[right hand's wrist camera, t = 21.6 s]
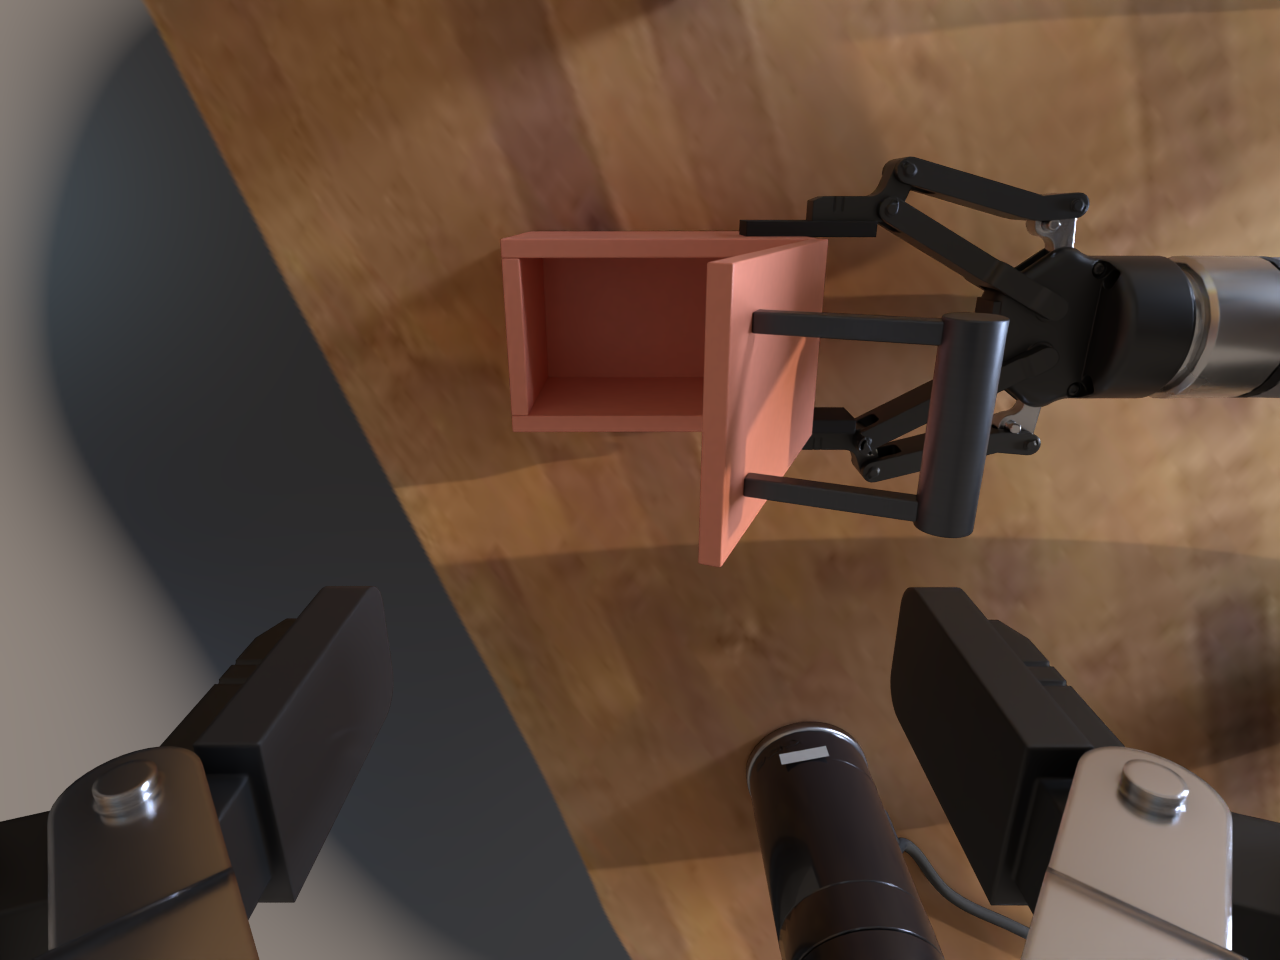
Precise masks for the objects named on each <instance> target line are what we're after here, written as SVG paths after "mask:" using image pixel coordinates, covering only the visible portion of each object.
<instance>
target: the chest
mask: <svg viewBox="0 0 1280 960" xmlns="http://www.w3.org/2000/svg"><path fill="white" fill-rule="evenodd" d="M809 239H816V238H812V237H807V236H803V237H746V236H743V235H739V231H530V232H526V233H522V234H518V235H514V236H510V237H507V238H503V239H501V240H500V244H501V257H502V274H503V289H504V305H505V320H506V335H507V351H508V366H509V381H510V397H511V412H512V428H513V432H702V419H703V385H704V351H705V318H706V284H707V264H708V262H712V261H716V260H721V259H725V258H730V257H734V256H739V255H743V254H747V253H752V252H756V251H761V250H765V249H769V248H774V247H778V246H783V245H787V244H791V243H796V242H800V241H805V240H809Z"/></svg>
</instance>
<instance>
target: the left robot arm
mask: <svg viewBox="0 0 1280 960" xmlns="http://www.w3.org/2000/svg"><path fill="white" fill-rule="evenodd" d="M910 190H911V191H915V192H918V193H921V194H925V195H928V196H932V197H935V198H938V199H942V200H945V201H949V202H952V203H955V204H959V205H962V206H966V207H969V208H972V209H976V210H979V211H983V212H986V213H989V214H993V215H996V216H1000V217H1003V218H1008V219H1015V220H1027V221H1026V227H1027V231H1028V232H1029V233H1030V234H1031V235H1034V236H1039V237H1041V238H1042V239H1043V240H1044V243H1045V248H1044V249H1042V250H1040V251H1039V252H1037V253H1036V254H1034V255H1033V256H1031V257H1030V258H1028V259H1027V260H1025V261H1024V262H1022V263H1021V264H1019V265H1018V266H1016V267H1015V268H1013V267H1012V266H1010V265H1008V264H1006V263H1004V262H1002V261H999V260H997V259H996V258H994V257H992V256H991V255H989V254H988V253H986V252H984V251H983V250H981V249H980V248H978V247H976V246H975V245H973V244H972V243H970V242H968V241H967V240H965V239H964V238H962V237H960V236H959V235H957V234H956V233H954V232H952V231H951V230H949V229H948V228H946V227H944V226H943V225H941V224H940V223H938V222H936V221H935V220H933V219H932V218H930V217H928V216H927V215H925V214H924V213H922V212H920V211H919V210H917V209H915V208H914V207H912V206H911V205H909V204H907V203H906V202H905V200H906V198H907V196H908V193H909V191H910ZM1088 208H1089V198H1088V197H1087V195H1085V194H1084V193H1049V194H1036V193H1033V192H1030V191H1026V190H1023V189H1020V188H1016V187H1013V186H1010V185H1006V184H1003V183H1000V182H996V181H993V180H989V179H986V178H983V177H979V176H976V175H973V174H969V173H966V172H963V171H959V170H956V169H953V168H949V167H946V166H943V165H939V164H936V163H933V162H929V161H926V160H923V159H919V158H916V157H905V158H899V159H893V160H891V161H889V162H887V163H886V164H885V166H884V168H883V171H882V178H881V180H880V182H879V185H878V187H877V188H876V190H875V191H874V192H873V193H871V194H870V195H868V196H818V197H815V198H813V199H810V200H808V201H807V214H806V220H740V227H739V235H743V236H746V237H803V236H807V237H876V232H877V224H878V225H880V226H882V227H883V228H885V229H886V230H888V231H890V232H891V233H893V234H895V235H896V236H898V237H900V238H901V239H903V240H904V241H906V242H908V243H909V244H911V245H913V246H914V247H916V248H917V249H919V250H921V251H922V252H924V253H926V254H927V255H929V256H931V257H932V258H934V259H935V260H937V261H939V262H940V263H942V264H944V265H945V266H947V267H948V268H950V269H952V270H953V271H955V272H957V273H958V274H960V275H962V276H963V277H964V278H965V279H966V280H967V281H969V282H971V283H972V284H974V285H976V286H977V287H979V288H980V289H982V290H984V293H983V295H982V297H977V303H976V309H975V313H987V314H995V315H1001V316H1005V317H1007V318H1009V320H1010V321H1009V326H1008V332H1007V338H1006V344H1005V349H1004V355H1003V361H1002V367H1001V372H1000V378H999V384H998V390H997V393H999V392H1001V391H1003V390H1005V391H1006V392H1007V393H1008V394H1010V395H1011V396H1012V397H1013V398H1015V399H1016V403H1015V405H1014V406H1013V407H1012V408H1011V409H1009V410H1007V411H1001V412H999V413H995V414H994V415H993V418H992V424H991V430H990V436H989V441H988V447H987V453H986V455H990V454H994V453H1008V454H1020V455H1032V454H1034V453H1036V452H1037V451H1038V450H1039V448H1040V445H1041V441H1040V438H1039V437H1037V436H1036V435H1035V434H1033V433H1034V430H1035V426H1036V423H1037V419H1038V416H1039V412H1040V409H1041V407H1043V406H1046V405H1048V404H1050V403H1052V402H1054V401H1057V400H1060V399H1064V398H1143V397H1147V396H1149V397H1152V398H1226V397H1265V398H1280V257H1273V258H1272V257H1263V256H1173V257H1169V258H1166V257H1162V256H1087V255H1085V254H1083V253H1081V252H1080V251H1079V250H1077V249H1075V248H1073V244H1074V235H1075V226H1076V218H1079V217H1081V216H1082V215H1084V214H1085V213H1086V211H1087V210H1088ZM932 384H933V380H931V381H929V382H927V383H925V384H923V385H921V386H919V387H917V388H915V389H913V390H911V391H909V392H907V393H905V394H903V395H901V396H899V397H897V398H895V399H893V400H891V401H889V402H887V403H885V404H883V405H881V406H879V407H877V408H875V409H873V410H871V411H869V412H867V413H865V414H863V415H861V416H859V417H857V418H854V417H853V416H852V415H851V414H850V413H849V412H848V411H847V410H846V409H845V408H844V407H814V414H813V426H812V435H811V436H810V438H809V439H808V441H807V442H806V444H805V445H804V447H803V448H802V450H813V449H814V450H820V449H821V450H849V451H850V453H851V456H852V459H851V461H852V464H853V465H854V467H855V468H856V469H857V470H858V471H859V473H860V474H861V475H862V476H863V478H864V479H865V480H866V481H868V482H878V481H882V480H886V479H890V478H894V477H898V476H902V475H907V474H911V473H915V472H919V471H920V469H921V462H922V455H923V448H924V441H925V434H926V433H924V434H920V435H916V436H912V437H908V438H904V439H900V440H896V441H892V440H894V439H896V438H898V437H900V436H902V435H904V434H906V433H908V432H910V431H912V430H914V429H916V428H918V427H920V426H922V425H924V424H926V423H927V420H928V412H929V405H930V398H931V391H932ZM889 441H892V442H889ZM887 442H888V443H887Z"/></svg>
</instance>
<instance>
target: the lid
mask: <svg viewBox="0 0 1280 960" xmlns="http://www.w3.org/2000/svg"><path fill="white" fill-rule="evenodd" d="M827 249H828V239H809V240H805V241H800V242H796V243H791V244H787V245H783V246H778V247H774V248H769V249H765V250H761V251H756V252H752V253H747V254H743V255H739V256H734V257H730V258H725V259H721V260H716V261H712V262H708V264H707V284H706V318H705V351H704V385H703V419H702V453H701V487H700V520H699V554H698V562H699V563H700V564H704V565H710V566H715V567H721V566H722V565H723V563H724V562H725V560H726V559H727V557H728V556H729V554H730V553H731V551H732V550H733V549H734V547H735V546H736V544H737V543H738V541H739V540H740V538H741V537H742V535H743V534H744V533H745V531H746V530H747V528H748V527H749V525H750V524H751V522H752V521H753V519H754V518H755V516H756V515H757V514H758V512H759V511H760V509H761V508H762V506H763V505H764V503H765V502H766V500H772V501H778V502H785V503H792V504H799V505H805V506H812V507H819V508H826V509H832V510H839V511H846V512H853V513H860V514H866V515H873V516H880V517H887V518H893V519H900V520H907V521H913V523H914V525H915V527H916V528H918V529H919V530H921V531H923V532H925V533H927V534H930V535H934V536H938V537H945V538H961V537H966V536H968V535H970V534H971V533H972V532H973V528H974V522H975V516H976V511H977V505H978V499H979V493H980V488H981V482H982V476H983V470H984V464H985V459H986V453H987V447H988V441H989V436H990V430H991V424H992V418H993V413H994V407H995V401H996V395H997V390H998V384H999V378H1000V372H1001V367H1002V361H1003V355H1004V349H1005V344H1006V338H1007V332H1008V326H1009V321H1010V320H1009V318H1007V317H1005V316H1001V315H995V314H987V313H972V312H957V313H947V314H944V315H943V316H942V319H939V318H919V317H900V316H881V315H862V314H842V313H823V312H822V308H823V296H824V284H825V272H826V260H827ZM820 338H829V339H845V340H860V341H876V342H891V343H907V344H922V345H938V349H937V356H936V363H935V370H934V377H933V384H932V391H931V398H930V405H929V412H928V420H927V427H926V434H925V441H924V448H923V455H922V462H921V469H920V476H919V483H918V490H917V495H913V494H906V493H898V492H891V491H884V490H876V489H869V488H861V487H854V486H847V485H839V484H832V483H824V482H817V481H810V480H802V479H795V478H787V477H783V476H784V474H785V473H786V471H787V470H788V468H789V467H790V465H791V464H792V463H793V461H794V460H795V458H796V457H797V455H798V454H799V452H800V451H801V449H802V448H803V447H804V445H805V444H806V442H807V441H808V439H809V438H810V436H811V435H812V426H813V414H814V402H815V390H816V379H817V367H818V355H819V343H820Z"/></svg>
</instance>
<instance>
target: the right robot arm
mask: <svg viewBox="0 0 1280 960" xmlns="http://www.w3.org/2000/svg"><path fill="white" fill-rule="evenodd" d="M890 683H891V696H892V702H893V707H894V710H895V713H896V716H897V718H898V720H899V722H900V724H901V726H902V728H903V730H904V732H905V734H906V736H907V738H908V740H909V742H910V744H911V746H912V748H913V750H914V752H915V754H916V756H917V758H918V760H919V762H920V764H921V766H922V768H923V770H924V772H925V774H926V776H927V778H928V780H929V782H930V784H931V786H932V788H933V790H934V792H935V794H936V796H937V798H938V800H939V802H940V804H941V806H942V808H943V810H944V812H945V814H946V816H947V818H948V820H949V822H950V824H951V826H952V828H953V830H954V832H955V834H956V836H957V838H958V840H959V842H960V844H961V846H962V848H963V850H964V852H965V854H966V856H967V858H968V860H969V862H970V864H971V866H972V868H973V870H974V872H975V874H976V876H977V878H978V880H979V882H980V884H981V886H982V888H983V890H984V892H985V894H986V896H987V898H988V900H989V902H990V904H991V905H1028V906H1029V908H1030V910H1031V911H1032V913H1033V918H1032V922H1031V925H1030V928H1028V927H1026V926H1024V925H1022V924H1020V923H1018V922H1016V921H1014V920H1012V919H1009V918H1007V917H1005V916H1003V915H1001V914H998V913H996V912H993V911H991V910H989V909H986V908H984V907H982V906H980V905H977V904H975V903H973V902H971V901H969V900H968V899H966V898H964V897H962V896H961V895H959V894H958V893H956V892H955V891H953V890H952V889H951V888H950V887H948V886H947V885H946V884H945V883H944V882H943V880H942V879H941V878H940V877H939V875H938V874H937V873H936V871H935V870H934V868H933V867H932V865H931V864H930V863H929V861H928V860H927V858H926V857H925V855H924V854H923V853H922V852H921V850H920V849H919V848H918V847H917V846H916V845H915V844H914V843H912V842H911V841H910V840H908V839H905V838H898V837H897V835H896V832H895V830H894V827H893V825H892V822H891V820H890V817H889V815H888V813H887V811H886V810H885V809H884V807H883V805H882V802H881V800H880V797H879V795H878V792H877V789H876V787H875V784H874V782H873V779H872V777H871V774H870V772H869V769H868V765H867V761H866V758H865V756H864V753H863V751H862V749H861V747H860V745H859V744H858V742H857V741H856V740H855V739H854V738H853V737H852V736H851V735H850V734H848V733H847V732H845V731H844V730H842V729H840V728H838V727H836V726H833V725H830V724H826V723H820V722H801V723H795V724H791V725H787V726H784V727H782V728H779V729H777V730H775V731H774V732H772V733H770V734H769V735H767V736H766V737H765V738H764V739H762V740H761V741H760V742H759V743H758V744H757V746H756V747H755V748H754V750H753V751H752V753H751V755H750V757H749V760H748V763H747V768H746V778H747V784H748V789H749V792H750V795H751V798H752V804H753V809H754V814H755V821H756V826H757V831H758V837H759V842H760V847H761V852H762V858H763V863H764V868H765V874H766V879H767V884H768V889H769V895H770V900H771V905H772V911H773V916H774V921H775V926H776V932H777V937H778V942H779V948H780V952H781V957H782V960H945V959H944V956H943V954H942V951H941V949H940V946H939V944H938V941H937V939H936V936H935V934H934V931H933V929H932V926H931V924H930V921H929V919H928V916H927V914H926V911H925V910H924V907H923V905H922V902H921V900H920V897H919V895H918V892H917V890H916V887H915V885H914V882H913V880H912V877H911V875H910V872H909V870H908V867H907V865H906V862H905V860H904V857H903V855H902V854H903V852H904V851H905V852H907V853H908V854H910V855H911V857H912V858H913V859H914V860H915V862H916V863H917V865H918V866H919V867H920V869H921V870H922V872H923V873H924V875H925V876H926V878H927V879H928V880H929V882H930V883H931V884H932V885H933V886H934V888H935V889H936V890H937V891H938V892H939V893H940V894H941V895H942V896H943V897H945V898H946V899H947V900H948V901H950V902H951V903H953V904H954V905H956V906H957V907H959V908H960V909H962V910H964V911H966V912H968V913H970V914H972V915H974V916H976V917H978V918H980V919H983V920H985V921H987V922H990V923H992V924H994V925H997V926H999V927H1001V928H1004V929H1006V930H1008V931H1010V932H1012V933H1014V934H1017V935H1019V936H1021V937H1023V938H1025V939H1026V943H1025V946H1024V950H1023V953H1022V957H1021V960H1280V823H1278V822H1273V821H1269V820H1264V819H1260V818H1255V817H1251V816H1246V815H1241V814H1237V813H1233V812H1230V810H1229V808H1228V806H1227V804H1226V803H1225V802H1224V800H1223V799H1222V797H1221V796H1220V795H1219V794H1218V793H1217V792H1216V791H1215V790H1214V789H1213V788H1212V787H1211V786H1210V785H1209V784H1208V783H1206V782H1205V781H1204V780H1203V779H1201V778H1200V777H1198V776H1197V775H1196V774H1194V773H1193V772H1191V771H1189V770H1187V769H1186V768H1184V767H1182V766H1181V765H1178V764H1176V763H1174V762H1172V761H1170V760H1168V759H1166V758H1163V757H1161V756H1158V755H1155V754H1152V753H1149V752H1146V751H1142V750H1138V749H1133V748H1127V747H1125V746H1124V745H1123V744H1122V743H1121V742H1120V741H1119V740H1118V738H1117V737H1116V736H1115V735H1114V734H1113V733H1112V732H1111V731H1110V729H1109V728H1108V727H1107V726H1106V725H1105V724H1104V723H1103V722H1102V720H1101V719H1100V718H1099V717H1098V716H1097V715H1096V714H1095V713H1094V712H1093V710H1092V709H1091V708H1090V707H1089V706H1088V705H1087V704H1086V703H1085V701H1084V700H1083V699H1082V698H1081V697H1080V696H1079V695H1078V694H1077V692H1076V691H1075V690H1074V689H1073V688H1072V687H1071V686H1067V685H1066V680H1065V679H1064V678H1063V677H1062V676H1061V675H1060V673H1059V672H1058V671H1057V670H1056V669H1055V668H1054V667H1050V665H1049V661H1048V660H1047V659H1046V658H1045V657H1044V655H1043V654H1042V653H1041V652H1040V651H1039V650H1038V649H1037V648H1036V646H1035V645H1034V644H1033V643H1032V642H1031V641H1030V640H1029V639H1028V638H1026V637H1025V636H1023V635H1021V634H1020V633H1018V632H1017V631H1015V630H1013V629H1012V628H1010V627H1008V626H1007V625H1005V624H1004V623H1002V622H1000V621H999V620H987V618H986V617H985V616H984V615H983V614H982V612H981V611H980V610H979V609H978V608H977V606H976V605H975V604H974V603H973V602H972V600H971V599H970V598H969V597H968V596H967V594H966V593H965V592H964V591H963V590H962V589H960V588H957V587H910V588H907V589H906V591H905V592H904V594H903V597H902V600H901V606H900V613H899V620H898V627H897V634H896V641H895V648H894V655H893V662H892V669H891V681H890ZM392 693H393V669H392V662H391V655H390V648H389V641H388V634H387V627H386V620H385V613H384V605H383V600H382V596H381V593H380V591H379V589H378V588H377V587H375V586H326V587H324V588H322V589H321V590H320V591H319V592H318V594H317V595H316V596H315V597H314V598H313V600H312V601H311V602H310V603H309V605H308V606H307V607H306V608H305V609H304V611H303V612H302V613H301V614H300V615H299V617H298V618H297V619H285V620H284V621H282V622H280V623H279V624H277V625H276V626H274V627H272V628H271V629H269V630H268V631H266V632H264V633H263V634H261V635H260V636H258V637H256V638H255V639H254V640H253V642H252V643H251V644H250V645H249V646H248V647H247V648H246V649H245V651H244V652H243V653H242V654H241V655H240V656H239V657H238V658H237V660H236V664H235V665H231V666H230V667H229V669H228V670H227V671H226V672H225V673H224V674H223V675H222V677H221V678H220V679H219V684H215V685H214V686H213V687H212V688H211V689H210V690H209V691H208V692H207V694H206V695H205V696H204V697H203V698H202V699H201V700H200V701H199V703H198V704H197V705H196V706H195V707H194V708H193V709H192V710H191V712H190V713H189V714H188V715H187V716H186V717H185V718H184V720H183V721H182V722H181V723H180V724H179V725H178V726H177V727H176V729H175V730H174V731H173V732H172V733H171V734H170V735H169V736H168V738H167V739H166V740H165V741H164V742H163V743H162V744H161V746H160V747H154V748H147V749H143V750H138V751H134V752H131V753H128V754H125V755H122V756H119V757H117V758H114V759H112V760H110V761H108V762H106V763H104V764H102V765H100V766H98V767H96V768H94V769H93V770H91V771H89V772H87V773H86V774H85V775H83V776H82V777H80V778H79V779H77V780H76V781H75V782H74V783H73V784H71V785H70V786H69V787H68V788H67V789H66V790H65V791H64V792H63V793H62V794H61V795H60V796H59V797H58V799H57V800H56V802H55V803H54V804H53V806H52V808H51V810H50V811H47V812H42V813H38V814H33V815H29V816H24V817H20V818H15V819H11V820H6V821H2V822H0V960H259V957H258V953H257V950H256V946H255V943H254V939H253V936H252V932H251V929H250V925H249V922H248V920H249V918H250V916H251V914H252V912H253V911H254V909H255V907H256V905H257V903H258V902H295V901H296V899H297V897H298V895H299V893H300V890H301V888H302V886H303V884H304V882H305V880H306V878H307V876H308V874H309V872H310V870H311V868H312V866H313V864H314V862H315V860H316V858H317V856H318V854H319V852H320V850H321V848H322V846H323V844H324V842H325V840H326V838H327V836H328V834H329V832H330V830H331V828H332V826H333V824H334V822H335V819H336V818H337V816H338V813H339V812H340V809H341V807H342V805H343V803H344V801H345V799H346V797H347V795H348V793H349V791H350V789H351V787H352V785H353V783H354V781H355V779H356V777H357V775H358V773H359V771H360V769H361V767H362V765H363V763H364V761H365V759H366V757H367V755H368V753H369V751H370V749H371V747H372V745H373V743H374V741H375V739H376V737H377V735H378V732H379V730H380V729H381V726H382V724H383V722H384V720H385V718H386V716H387V714H388V711H389V708H390V704H391V699H392Z"/></svg>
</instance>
